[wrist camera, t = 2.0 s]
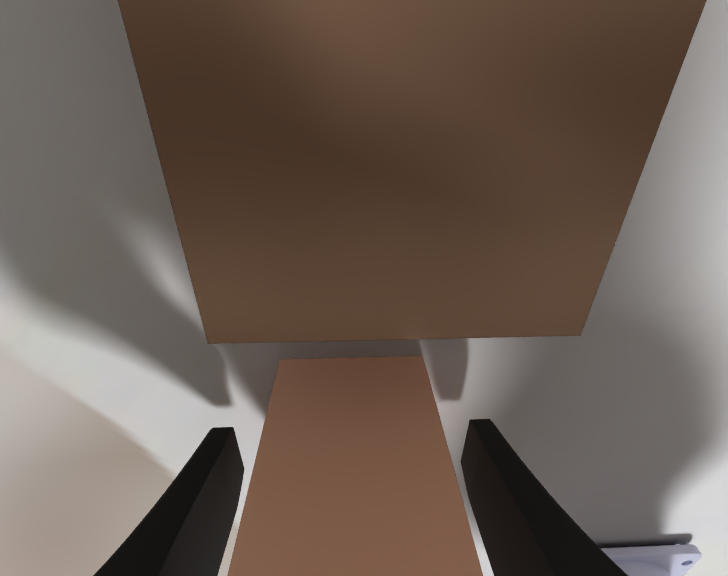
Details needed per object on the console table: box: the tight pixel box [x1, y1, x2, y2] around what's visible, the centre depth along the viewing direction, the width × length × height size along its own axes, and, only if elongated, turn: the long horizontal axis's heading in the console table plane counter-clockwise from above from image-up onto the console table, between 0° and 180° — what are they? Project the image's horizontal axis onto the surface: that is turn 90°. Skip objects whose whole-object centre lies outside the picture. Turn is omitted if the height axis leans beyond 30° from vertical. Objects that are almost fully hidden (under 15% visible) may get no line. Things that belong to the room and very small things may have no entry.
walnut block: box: [118, 0, 706, 344], centre depth 7 cm, size 8×8×3 cm
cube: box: [228, 356, 483, 576], centre depth 10 cm, size 4×4×6 cm
